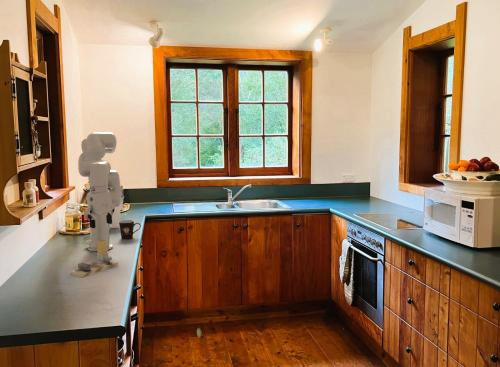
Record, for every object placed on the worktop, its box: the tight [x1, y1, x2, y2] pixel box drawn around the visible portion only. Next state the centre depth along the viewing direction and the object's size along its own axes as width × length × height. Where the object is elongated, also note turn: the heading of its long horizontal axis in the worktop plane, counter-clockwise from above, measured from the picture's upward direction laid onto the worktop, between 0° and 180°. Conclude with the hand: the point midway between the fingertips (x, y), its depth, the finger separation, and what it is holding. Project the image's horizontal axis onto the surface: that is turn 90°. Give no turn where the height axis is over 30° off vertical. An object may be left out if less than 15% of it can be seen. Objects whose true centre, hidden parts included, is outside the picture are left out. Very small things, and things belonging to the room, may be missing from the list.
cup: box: [109, 198, 123, 229], centre depth 293 cm, size 11×11×18 cm
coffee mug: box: [118, 219, 142, 240], centre depth 264 cm, size 12×9×10 cm
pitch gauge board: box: [69, 260, 119, 278], centre depth 205 cm, size 20×8×4 cm, turn 149°
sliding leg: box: [96, 240, 113, 263], centre depth 210 cm, size 3×7×10 cm, turn 59°
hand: (101, 225), depth 210 cm, fingers open, 9 cm apart
